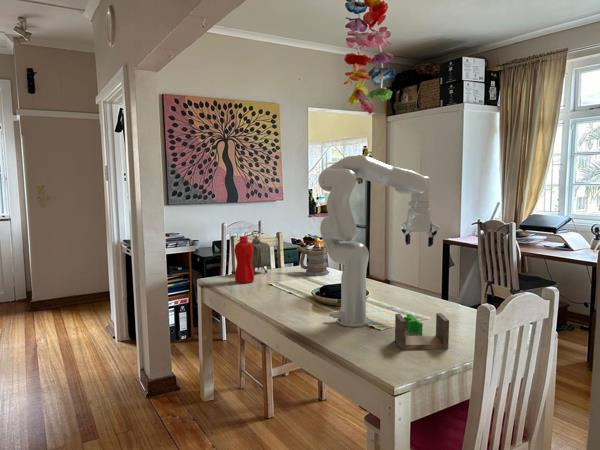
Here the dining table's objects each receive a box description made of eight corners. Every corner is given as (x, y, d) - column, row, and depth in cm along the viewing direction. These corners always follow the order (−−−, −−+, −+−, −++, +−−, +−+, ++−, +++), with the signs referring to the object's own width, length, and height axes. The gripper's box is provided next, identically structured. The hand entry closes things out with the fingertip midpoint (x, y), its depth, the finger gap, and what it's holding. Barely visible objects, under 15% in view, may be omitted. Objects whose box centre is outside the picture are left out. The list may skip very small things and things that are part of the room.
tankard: (331, 272, 263) (331, 247, 262) (321, 276, 253) (321, 250, 251) (303, 269, 274) (302, 244, 272) (291, 273, 263) (291, 247, 262)
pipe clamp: (400, 326, 170) (400, 314, 169) (409, 325, 170) (409, 313, 170) (412, 336, 159) (412, 323, 158) (422, 335, 159) (422, 323, 159)
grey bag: (270, 272, 264) (269, 231, 261) (259, 275, 257) (258, 232, 254) (253, 269, 273) (252, 229, 270) (242, 272, 266) (241, 230, 264)
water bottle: (243, 285, 235) (242, 238, 232) (232, 281, 243) (231, 236, 240) (258, 282, 240) (257, 236, 238) (247, 278, 249) (246, 234, 246)
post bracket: (400, 349, 146) (401, 321, 145) (394, 340, 154) (395, 313, 153) (448, 348, 147) (449, 320, 146) (440, 339, 155) (441, 313, 154)
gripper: (397, 205, 191) (396, 244, 193) (437, 206, 181) (436, 248, 183) (403, 204, 197) (402, 242, 199) (443, 205, 187) (441, 245, 189)
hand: (418, 245), depth 191 cm, fingers open, 9 cm apart
